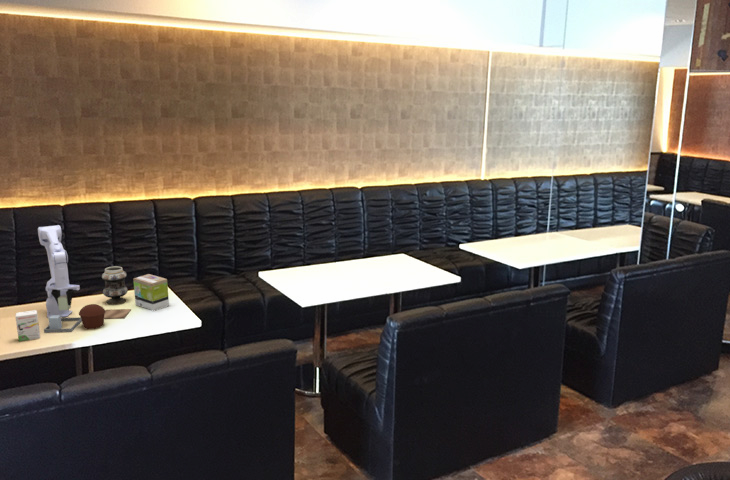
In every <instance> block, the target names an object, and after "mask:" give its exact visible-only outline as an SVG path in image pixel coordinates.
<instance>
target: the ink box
mask: <svg viewBox="0 0 730 480" xmlns="http://www.w3.org/2000/svg"><path fill="white" fill-rule="evenodd" d="M38 316H39V315H38V310H36V309H34V310H28V311H19V312H16V313H15V322H16V330H17V337H18V342H25V341H30V340H36V339H37V340H38V339H41V333H40V324H39V317H38Z"/></svg>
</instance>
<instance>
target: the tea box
mask: <svg viewBox="0 0 730 480" xmlns="http://www.w3.org/2000/svg"><path fill="white" fill-rule="evenodd" d="M132 282H133V290H134V291H133V293H134V301H135V302H134V305H135V306H137V307H138V306H139V307H142V308H144V309H147V310H149V311H152V310H153V312H155V311H157V309H158V310H160V308H161V309H164V308H166V306H167V307H168V306H170V300H169V299H170V298H169V288H168V287H169V286H168V279H167V278H164V277H162V276H157V275H153V274H150V273H147V274H144V275H140V276H138V277H134V278H133V281H132ZM163 307H164V308H163ZM154 310H155V311H154Z"/></svg>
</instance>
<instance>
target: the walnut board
mask: <svg viewBox="0 0 730 480" xmlns="http://www.w3.org/2000/svg"><path fill="white" fill-rule="evenodd" d="M131 310H132V309H131V308H121V309H120V308H119V309H118V308H117V309H115V308H114V309H111V308H110V309H105V311H106V312H105V313H104V320H112V319H113V320H117V319H123V320H124V319H125V318H126V317H127V316H128V315H129V313H130V312H131Z"/></svg>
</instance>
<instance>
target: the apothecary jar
mask: <svg viewBox="0 0 730 480" xmlns="http://www.w3.org/2000/svg"><path fill="white" fill-rule="evenodd" d="M126 277H127V272H126V271H124V269H123V267H122V266H117V265H114V266H109V267H106V268H104V273H102V275H101V278H102V280H103V281H104V288H103V290H102V294H103V296H105V297H106V298H109V299H108V300H106V302H105V304H107V305H113V306H114V305H120V304H121V305H122V304H124V303H126V302H127V299H126V298H125V297H124V298H123V296H126V294H127V293H128V291H129V289H128V287H127V286H126V284H125V283H126V282H125V279H126Z"/></svg>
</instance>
